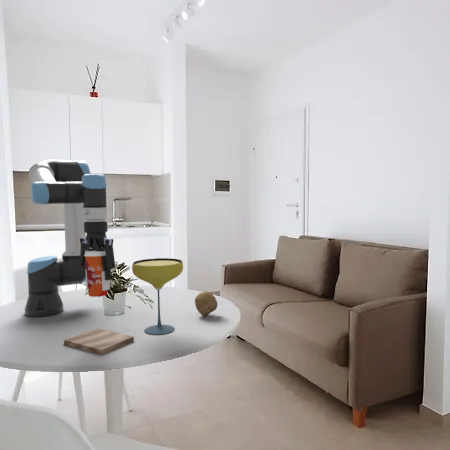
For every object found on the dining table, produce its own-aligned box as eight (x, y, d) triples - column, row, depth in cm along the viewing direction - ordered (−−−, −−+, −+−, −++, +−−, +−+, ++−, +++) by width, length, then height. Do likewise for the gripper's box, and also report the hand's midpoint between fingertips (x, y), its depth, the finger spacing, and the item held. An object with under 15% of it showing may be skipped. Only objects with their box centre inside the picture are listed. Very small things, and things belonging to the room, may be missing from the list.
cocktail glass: (177, 320, 161) (175, 257, 159) (190, 334, 144) (188, 263, 143) (130, 326, 155) (128, 260, 153) (138, 341, 138) (136, 267, 136)
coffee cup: (87, 298, 133) (85, 252, 132) (83, 293, 140) (81, 250, 139) (113, 295, 137) (112, 250, 136) (108, 290, 144) (106, 248, 143)
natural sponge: (212, 311, 172) (212, 288, 172) (221, 317, 164) (220, 292, 163) (192, 314, 169) (191, 290, 168) (199, 320, 160) (199, 295, 160)
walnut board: (63, 344, 136) (63, 339, 136) (97, 332, 148) (97, 328, 148) (101, 354, 127) (101, 349, 126) (133, 340, 138) (133, 336, 138)
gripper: (66, 221, 139) (69, 288, 141) (108, 221, 129) (110, 293, 130) (84, 220, 146) (86, 284, 147) (125, 220, 135) (127, 289, 136)
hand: (98, 288), depth 138 cm, fingers closed on coffee cup, 7 cm apart
